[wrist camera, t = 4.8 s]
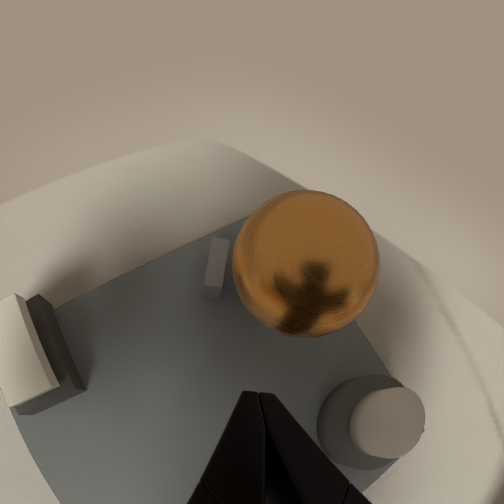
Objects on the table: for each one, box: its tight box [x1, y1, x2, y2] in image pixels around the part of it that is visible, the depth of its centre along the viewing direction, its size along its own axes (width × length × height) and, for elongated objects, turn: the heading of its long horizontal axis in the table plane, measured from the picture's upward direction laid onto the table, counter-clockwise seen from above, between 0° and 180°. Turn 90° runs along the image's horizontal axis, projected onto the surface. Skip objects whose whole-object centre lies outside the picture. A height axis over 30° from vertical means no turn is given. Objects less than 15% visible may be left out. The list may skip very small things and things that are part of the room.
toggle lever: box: [232, 190, 379, 338], centre depth 10 cm, size 3×3×11 cm
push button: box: [350, 387, 425, 459], centre depth 11 cm, size 3×3×1 cm
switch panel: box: [9, 217, 425, 504], centre depth 12 cm, size 16×18×3 cm
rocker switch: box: [0, 293, 60, 407], centre depth 9 cm, size 4×2×1 cm, turn 32°
